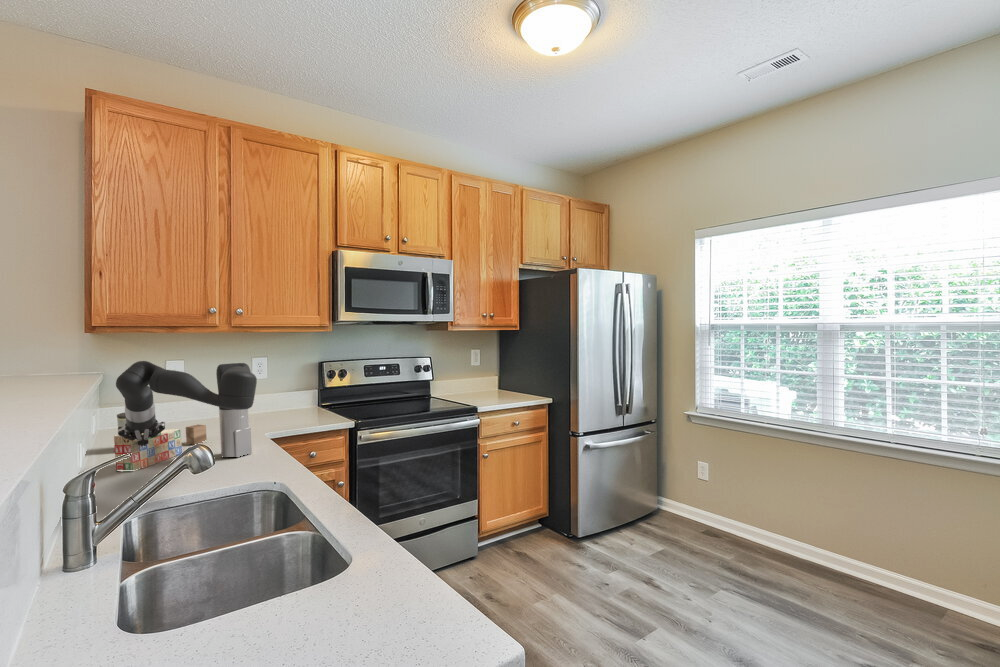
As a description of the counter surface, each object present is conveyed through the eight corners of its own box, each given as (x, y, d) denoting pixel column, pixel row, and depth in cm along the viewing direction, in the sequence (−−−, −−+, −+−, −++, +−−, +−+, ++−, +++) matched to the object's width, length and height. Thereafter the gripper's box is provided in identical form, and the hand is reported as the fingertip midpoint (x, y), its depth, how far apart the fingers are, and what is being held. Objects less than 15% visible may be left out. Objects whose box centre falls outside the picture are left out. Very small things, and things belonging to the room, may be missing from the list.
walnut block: (206, 442, 199) (205, 425, 199) (194, 445, 194) (193, 427, 194) (198, 441, 201) (198, 424, 201) (186, 444, 197) (185, 427, 196)
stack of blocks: (167, 454, 183) (165, 421, 183) (182, 454, 182) (180, 421, 182) (115, 472, 162) (113, 435, 161) (132, 472, 161) (130, 435, 161)
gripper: (113, 425, 148) (118, 457, 159) (166, 418, 156) (167, 449, 166) (113, 405, 152) (118, 438, 163) (165, 400, 160) (166, 431, 170)
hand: (143, 443), depth 164 cm, fingers closed
